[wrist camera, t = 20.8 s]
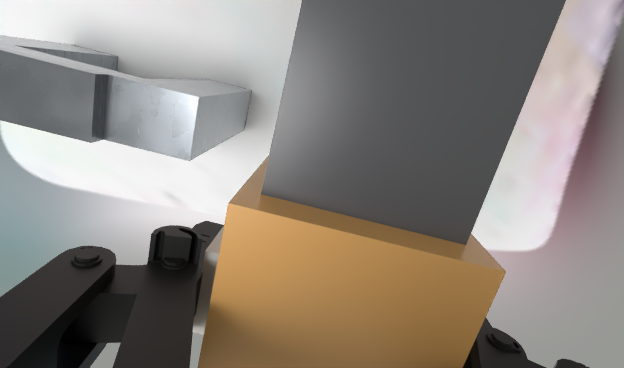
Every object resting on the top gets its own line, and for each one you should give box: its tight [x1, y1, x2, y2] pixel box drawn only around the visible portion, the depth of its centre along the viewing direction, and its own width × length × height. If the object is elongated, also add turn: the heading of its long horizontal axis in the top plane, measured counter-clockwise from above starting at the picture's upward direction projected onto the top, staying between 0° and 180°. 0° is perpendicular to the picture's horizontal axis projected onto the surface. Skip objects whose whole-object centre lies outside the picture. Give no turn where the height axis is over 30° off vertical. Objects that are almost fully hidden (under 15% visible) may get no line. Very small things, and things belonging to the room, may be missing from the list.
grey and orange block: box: [198, 0, 566, 368], centre depth 10 cm, size 21×6×9 cm, turn 166°
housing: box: [0, 35, 252, 161], centre depth 28 cm, size 18×4×16 cm, turn 76°
